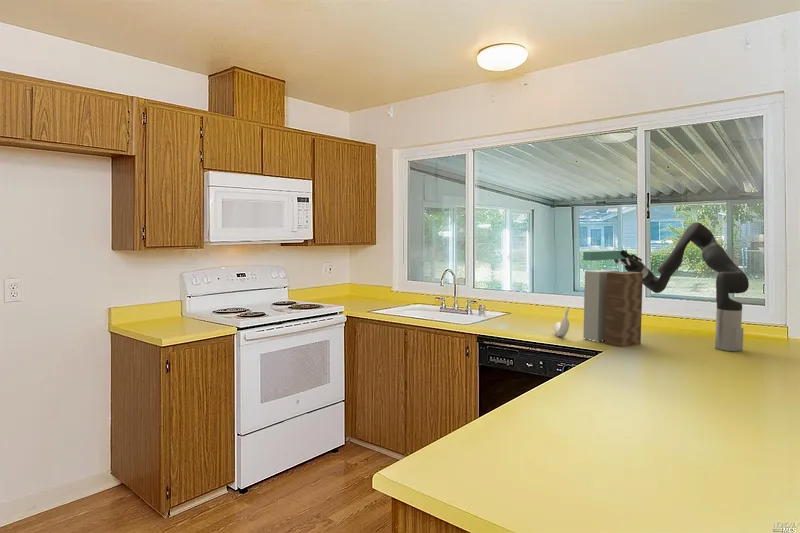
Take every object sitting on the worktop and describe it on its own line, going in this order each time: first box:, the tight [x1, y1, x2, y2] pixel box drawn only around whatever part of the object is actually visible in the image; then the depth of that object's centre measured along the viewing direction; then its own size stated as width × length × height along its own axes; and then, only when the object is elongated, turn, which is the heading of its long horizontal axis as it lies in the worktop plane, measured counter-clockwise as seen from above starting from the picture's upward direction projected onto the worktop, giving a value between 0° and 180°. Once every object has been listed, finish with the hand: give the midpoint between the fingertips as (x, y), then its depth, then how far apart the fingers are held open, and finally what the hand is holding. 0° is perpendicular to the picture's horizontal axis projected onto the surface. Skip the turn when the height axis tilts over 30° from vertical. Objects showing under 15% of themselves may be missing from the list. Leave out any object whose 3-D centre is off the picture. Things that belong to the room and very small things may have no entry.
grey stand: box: [582, 269, 620, 342], centre depth 245 cm, size 14×8×32 cm, turn 121°
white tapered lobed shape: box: [553, 308, 570, 338], centre depth 252 cm, size 5×19×15 cm, turn 179°
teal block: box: [582, 249, 628, 262], centre depth 245 cm, size 26×4×4 cm, turn 121°
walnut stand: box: [604, 271, 643, 348], centre depth 235 cm, size 14×8×32 cm, turn 121°
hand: (617, 251), depth 249 cm, fingers closed on teal block, 4 cm apart
